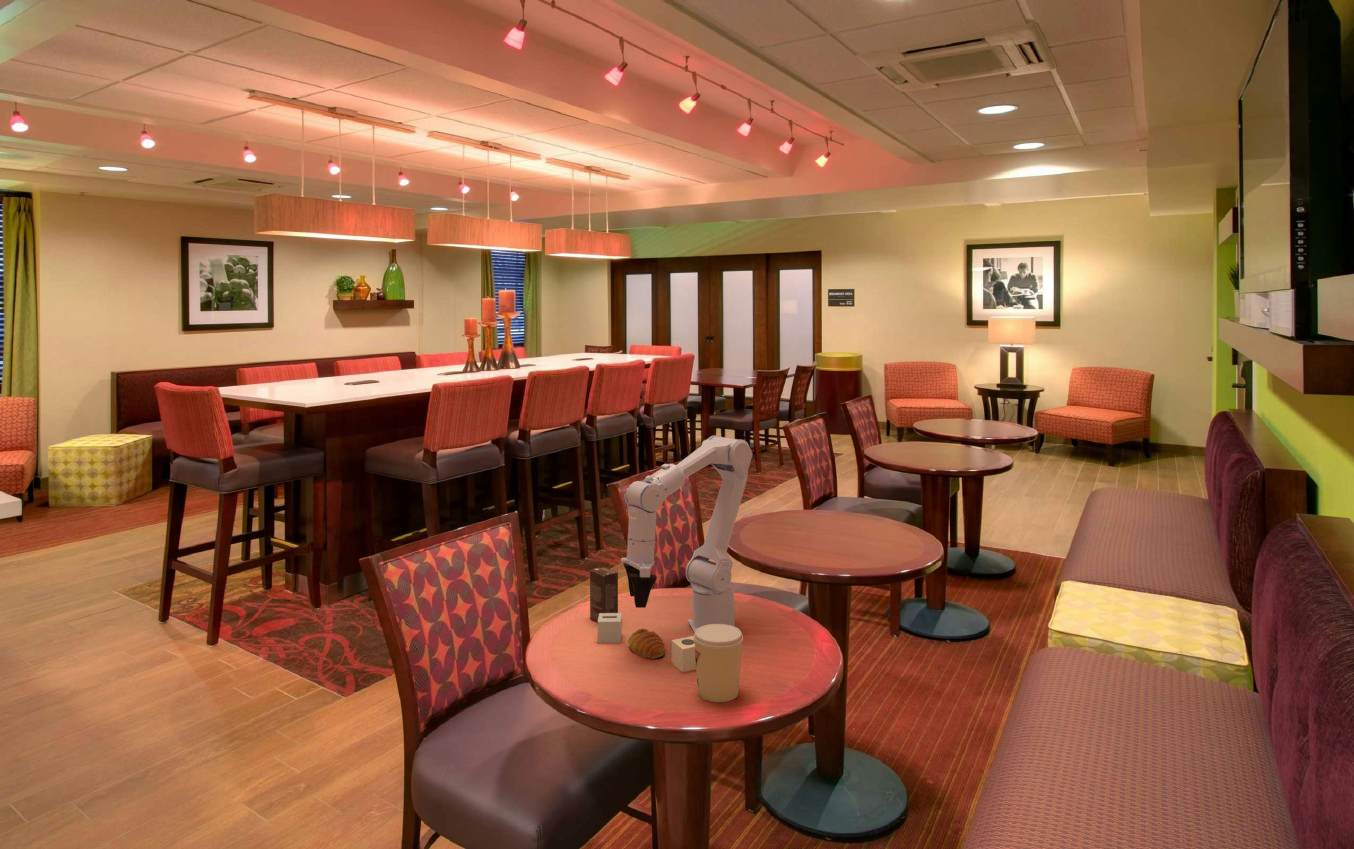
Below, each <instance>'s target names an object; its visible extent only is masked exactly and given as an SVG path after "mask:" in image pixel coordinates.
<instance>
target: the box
mask: <svg viewBox="0 0 1354 849" xmlns="http://www.w3.org/2000/svg"><path fill="white" fill-rule="evenodd" d="M589 599H590V600H589V618H590V619H591V620H593V621H595V622H597V623H598V617H599V613H619V572H618V571H614V570H613V569H610V568H607V567H605V566H603V567H602V566H601V567H597V568H593V569H590V570H589Z"/></svg>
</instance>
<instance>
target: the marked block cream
mask: <svg viewBox="0 0 1354 849" xmlns="http://www.w3.org/2000/svg"><path fill="white" fill-rule="evenodd" d="M671 664H672V665H673V666H675V667H676V668H677V669H678V670H679V671H680V672H682V673H687V672H690V671H696V660H695V643H694V635H691V636H687V637H680V638H676V639H671Z"/></svg>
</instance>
